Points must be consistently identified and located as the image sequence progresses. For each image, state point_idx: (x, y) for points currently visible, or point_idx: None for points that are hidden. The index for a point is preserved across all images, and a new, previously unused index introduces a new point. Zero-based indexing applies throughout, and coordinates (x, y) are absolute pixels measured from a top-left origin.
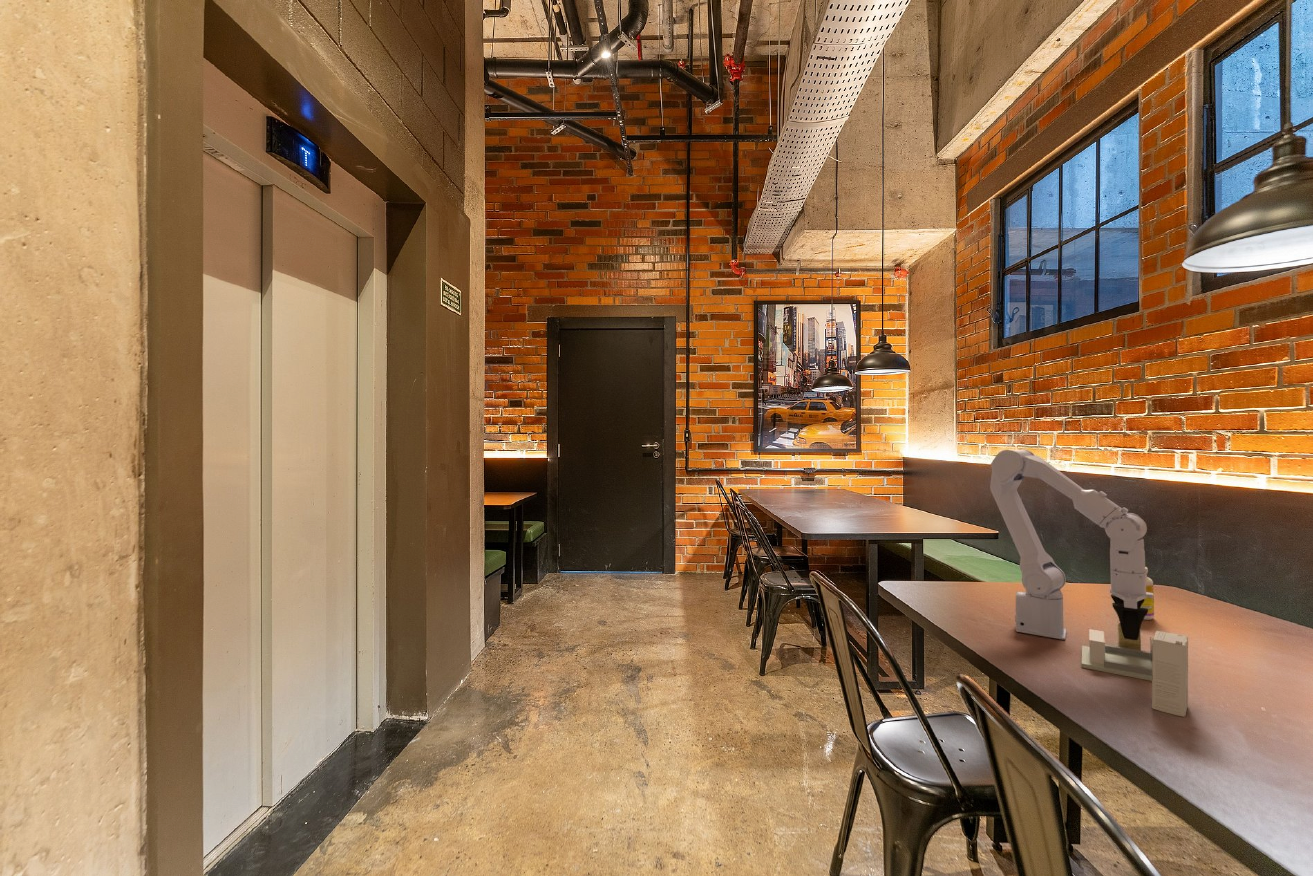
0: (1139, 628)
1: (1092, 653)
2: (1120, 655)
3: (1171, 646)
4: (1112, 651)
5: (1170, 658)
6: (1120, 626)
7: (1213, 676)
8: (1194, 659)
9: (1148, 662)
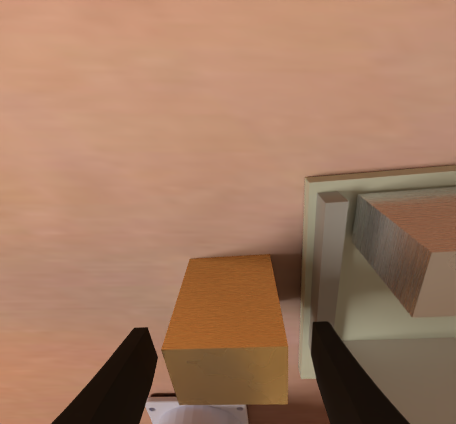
0: (375, 386)
1: None
2: (344, 309)
3: None
4: None
5: None
6: (252, 399)
7: (374, 13)
8: (143, 91)
9: None
